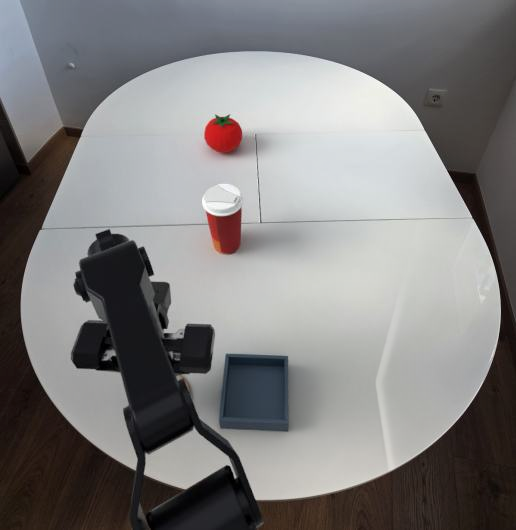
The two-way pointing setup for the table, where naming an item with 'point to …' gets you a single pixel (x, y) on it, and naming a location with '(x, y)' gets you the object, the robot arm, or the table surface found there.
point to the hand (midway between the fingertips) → (155, 371)
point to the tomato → (223, 134)
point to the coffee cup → (224, 216)
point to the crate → (254, 393)
